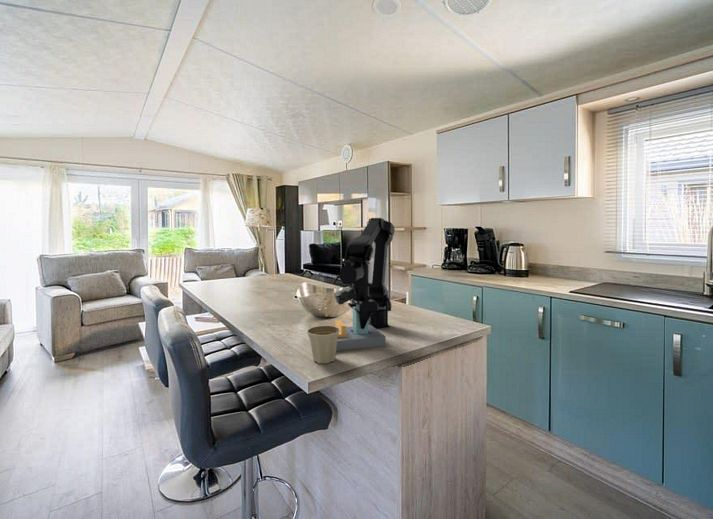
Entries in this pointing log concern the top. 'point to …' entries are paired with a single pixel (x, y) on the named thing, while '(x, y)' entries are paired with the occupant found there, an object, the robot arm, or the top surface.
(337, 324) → the orange block
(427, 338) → the top surface
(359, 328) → the plug
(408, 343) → the top surface
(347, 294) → the robot arm
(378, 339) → the socket plate
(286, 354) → the top surface
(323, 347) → the flower pot
